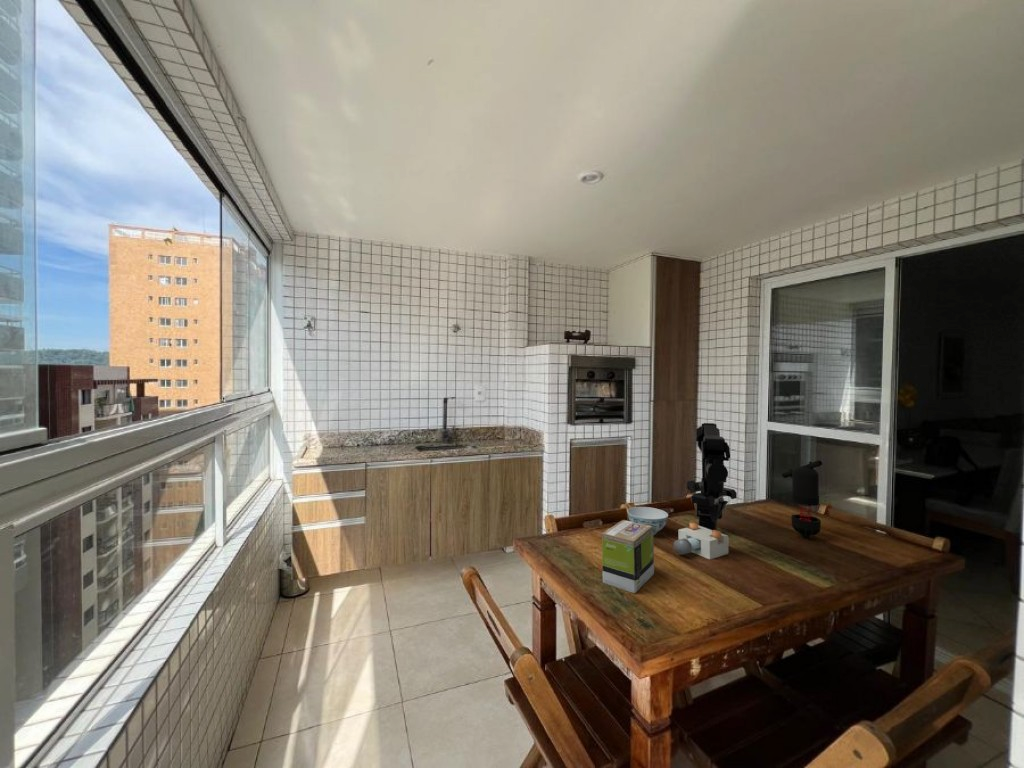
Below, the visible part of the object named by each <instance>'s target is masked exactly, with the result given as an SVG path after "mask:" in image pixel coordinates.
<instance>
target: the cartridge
mask: <svg viewBox="0 0 1024 768" xmlns="http://www.w3.org/2000/svg"><path fill="white" fill-rule="evenodd" d="M699 548H701V540H699V539H696V538H693V537H692V538H688V539H685V538H683V539H679V538H678V539H676V540H675V541H674V542H673V549H674V550H675V552H676V553H677V554H679V555H686V554H689V553H692V552H691V551H692V550H695V549H699Z"/></svg>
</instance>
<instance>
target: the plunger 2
mask: <svg viewBox="0 0 1024 768" xmlns="http://www.w3.org/2000/svg"><path fill="white" fill-rule="evenodd" d="M721 533H722V531H720V530H712V537H714V538H717V539H718V541H720V540H721Z"/></svg>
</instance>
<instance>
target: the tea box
mask: <svg viewBox="0 0 1024 768" xmlns="http://www.w3.org/2000/svg"><path fill="white" fill-rule="evenodd" d="M601 545H602V546H601V547H602V548H601V549H602V550H601V552H602V555H601V556H602V557H601V558H602V559H601V561H602V562H601V563H602V583H603V584H605V585H608V586H611V587H613V588H617V589H620V590H623V591H625V592H629V593H632V594H636V593H637V592H638V591H639V590H640V588H641V587H643V586H644V585H645V583H647V581H649V579H651V577H652V576H653V575H654V574H655V562H654V561H655V557H654V556H655V555H654V552H655V551H654V535H653V526H650V525H645V524H640V523H635V522H631V521H630V520H626V519H622V520H620V521H619V522H617V523H616V524H614V525H613V526H611V527H610V528H608V529H606V530H604V532H602V534H601Z"/></svg>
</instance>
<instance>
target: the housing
mask: <svg viewBox="0 0 1024 768" xmlns="http://www.w3.org/2000/svg"><path fill="white" fill-rule="evenodd" d="M692 537H693V538H696V539H699V540H701V548H699V549H695V550H692V551H691V552H690V553H692V554H695V555H698V556H701V557H702V558H705V559H708V560H709V561H710V560H712V559H716V558H719V557H722V556H725V555H729V535H727V534H724V533H722V532H721V540H720V541H718V539H717V538H714V537H712V530H710V529H707V528H704V527H701V526H699V525H698V530H692V529H689V527H684V528H680V529H678V540H679V539H683V538H685V539H688V538H692Z"/></svg>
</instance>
